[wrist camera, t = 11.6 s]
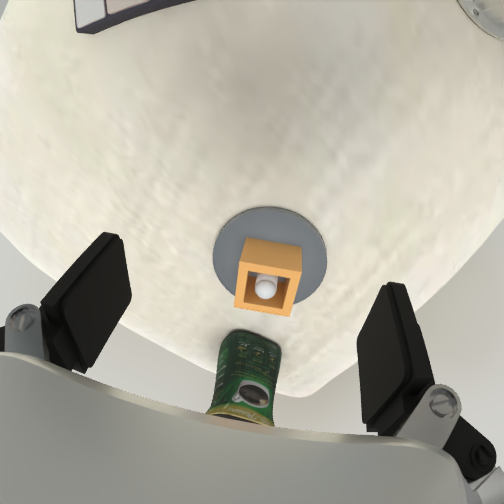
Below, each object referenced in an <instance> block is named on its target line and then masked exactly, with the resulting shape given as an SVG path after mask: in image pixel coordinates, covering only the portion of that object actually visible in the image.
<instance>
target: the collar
mask: <svg viewBox="0 0 504 504" xmlns="http://www.w3.org/2000/svg"><path fill="white" fill-rule="evenodd" d="M250 271H252V272H258V273H263V274H269V275H275V276H280V277H286V278H285V282H280V281H277V290H276V293H275V295H274V296H273V297H271V298H269V299H262V298H260V297H259V296H258V295H257V294H256V292H255V284H256V279H257V277H252V276H249V274H250ZM301 273H302V247H299V246H293V245H288V244H282V243H277V242H271V241H265V240H259V239H254V238H248V237H246V240H245V244H244V247H243V251H242V254H241V258H240V261H239V269H238V277H237V285H236V294H235V302H234V307H236V308H242V309H247V310H253V311H258V312H264V313H270V314H276V315H282V316H288V317H289V316H290V313H291V309H292V306H293V302H294V299H295V295H296V292H297V288H298V284H299V281H300V277H301Z"/></svg>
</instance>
